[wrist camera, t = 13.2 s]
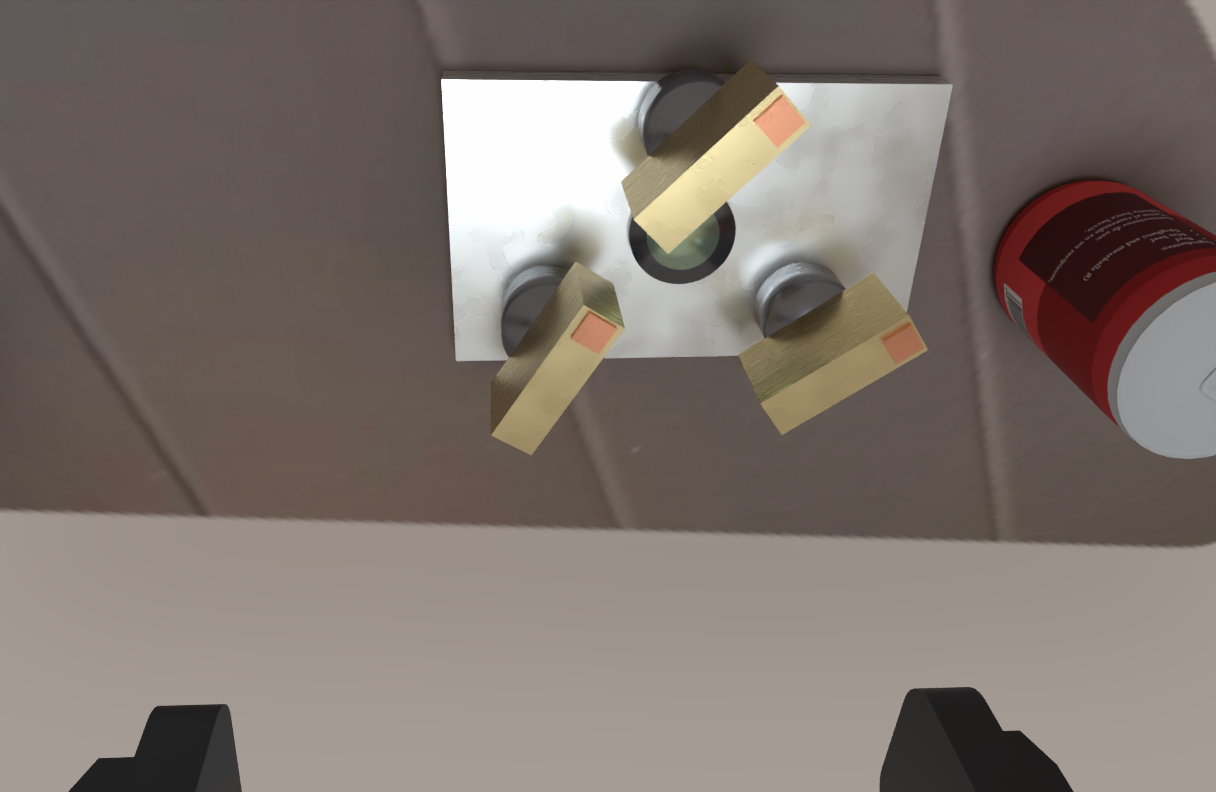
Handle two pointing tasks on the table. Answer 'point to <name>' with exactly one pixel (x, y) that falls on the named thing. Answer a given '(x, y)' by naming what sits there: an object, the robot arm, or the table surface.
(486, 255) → the level plate
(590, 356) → the knob
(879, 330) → the knob
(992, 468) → the table surface
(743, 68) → the yellow paddle knob
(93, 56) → the table surface
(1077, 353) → the canned food
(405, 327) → the table surface
